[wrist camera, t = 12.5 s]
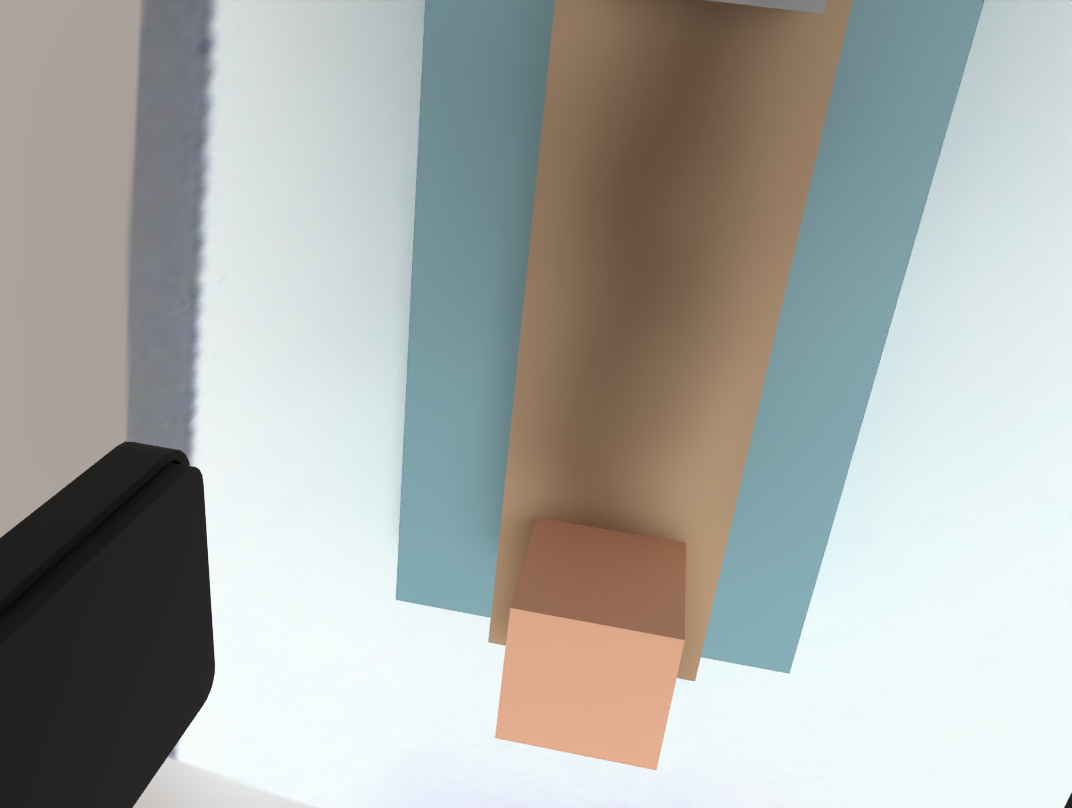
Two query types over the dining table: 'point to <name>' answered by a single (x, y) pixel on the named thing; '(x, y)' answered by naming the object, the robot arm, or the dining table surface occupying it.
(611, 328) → the pallet
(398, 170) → the dining table surface
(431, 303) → the block
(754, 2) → the block
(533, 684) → the pink cube
